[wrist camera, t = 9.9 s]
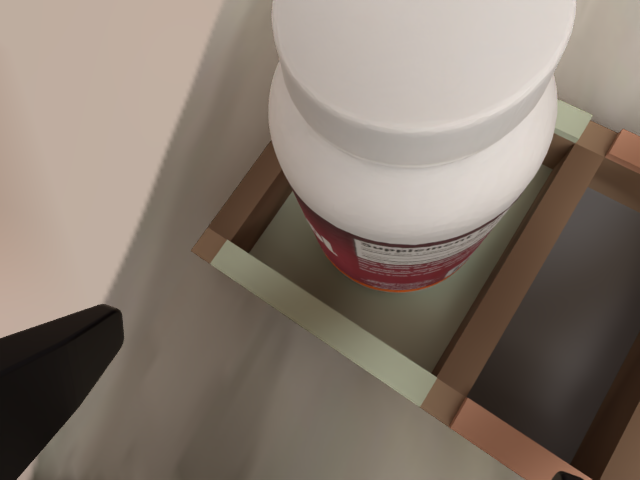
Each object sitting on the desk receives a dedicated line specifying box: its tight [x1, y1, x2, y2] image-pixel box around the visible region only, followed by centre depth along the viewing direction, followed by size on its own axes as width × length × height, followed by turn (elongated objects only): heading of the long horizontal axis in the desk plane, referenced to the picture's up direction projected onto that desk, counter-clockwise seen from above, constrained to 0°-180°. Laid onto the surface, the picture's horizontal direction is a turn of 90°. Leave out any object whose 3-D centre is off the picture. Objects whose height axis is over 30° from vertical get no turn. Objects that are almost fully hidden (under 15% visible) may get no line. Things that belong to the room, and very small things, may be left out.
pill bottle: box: [268, 0, 576, 293], centre depth 12 cm, size 6×6×11 cm
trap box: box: [191, 99, 640, 480], centre depth 15 cm, size 24×11×3 cm, turn 56°
